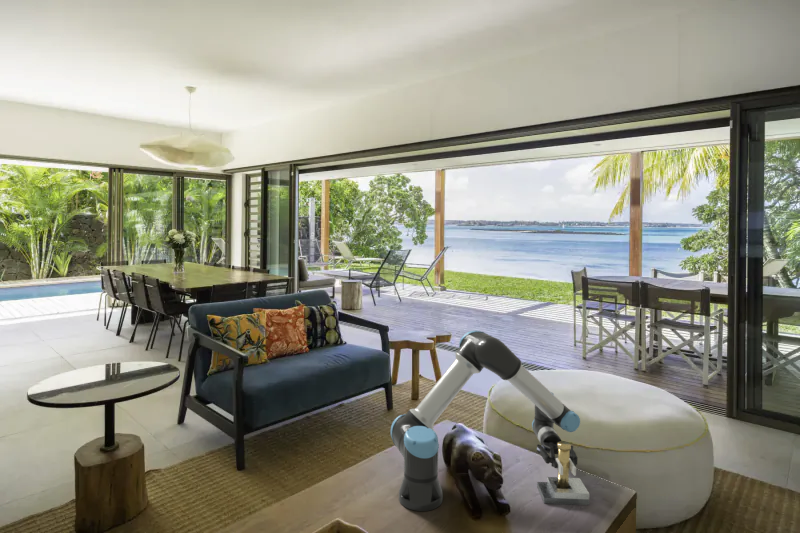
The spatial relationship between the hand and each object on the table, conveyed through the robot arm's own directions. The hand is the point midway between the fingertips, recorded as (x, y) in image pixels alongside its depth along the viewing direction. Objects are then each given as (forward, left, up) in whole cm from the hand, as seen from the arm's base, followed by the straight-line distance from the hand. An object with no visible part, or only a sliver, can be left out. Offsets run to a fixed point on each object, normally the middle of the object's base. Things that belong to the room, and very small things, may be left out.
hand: (568, 471), depth 155 cm
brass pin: (0, +5, -9) cm, 10 cm away
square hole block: (0, +5, -12) cm, 13 cm away
